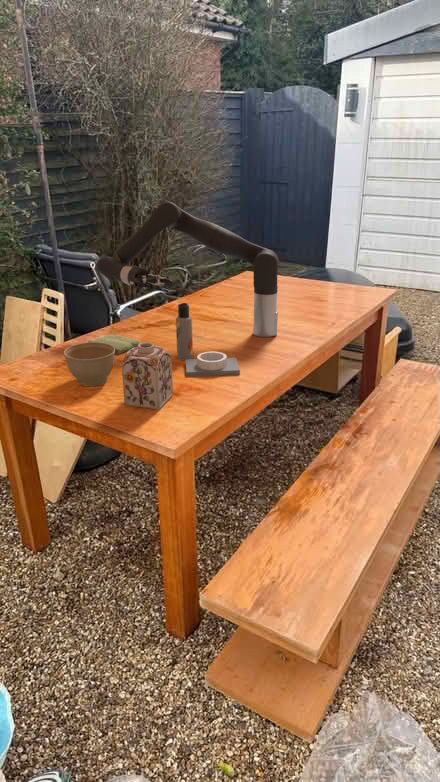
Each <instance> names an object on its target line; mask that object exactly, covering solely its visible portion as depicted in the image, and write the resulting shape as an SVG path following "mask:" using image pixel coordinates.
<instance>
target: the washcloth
mask: <svg viewBox="0 0 440 782" xmlns="http://www.w3.org/2000/svg"><path fill="white" fill-rule="evenodd" d="M87 342H101V343H107V344H110V345H112V346H113V347H114V348H115V354H116V355H121V354H123V353H127V352H128V351H129V350H131V349H132V348H135V347H138V345H139V344H140V343H141V342H140V340H139V339H137V338H130V337H127V336H121V335H117V334H108V335H104V336H99V337H97V338H95V339H91V340H88V341H87Z"/></svg>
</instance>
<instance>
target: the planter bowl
mask: <svg viewBox="0 0 440 782" xmlns="http://www.w3.org/2000/svg"><path fill="white" fill-rule="evenodd" d="M63 355H64V358H65V363H66V366H67V368H68V370H69V372H70V373H71V374H72V376H73V377H74V378H75V379H76V380H77V383H78V384H79V385H81V386H85V387H95V386H100V385H103V384H105V383H106V382H107V381H108V377H109V376H110V374H111V372H112V370H113V368H114V364H115V357H116V355H115V348H114V347H113V346H112V345H110V344H107V343H101V342H88V341H87V342H82V343H77V344H72V345H71V346H69V347H66V348H65V350H64V351H63Z"/></svg>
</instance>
